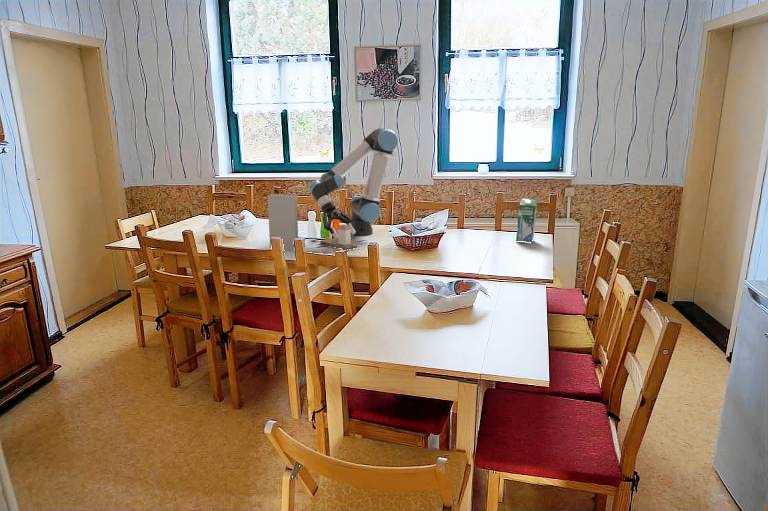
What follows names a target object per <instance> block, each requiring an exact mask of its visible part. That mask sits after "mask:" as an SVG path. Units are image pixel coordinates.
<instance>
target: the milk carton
mask: <svg viewBox="0 0 768 511" xmlns="http://www.w3.org/2000/svg"><path fill="white" fill-rule="evenodd" d="M518 207H519V208H518V217H517V228H516V229H517V230H516V237H515V238H516V240H515V242H516V241H526V242H532V240H533V241H534V239H533V238H534V237H535V227H536V218H537V209H538V199H531V198H521V199H520V202H519V205H518ZM532 243H533V242H532Z"/></svg>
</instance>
